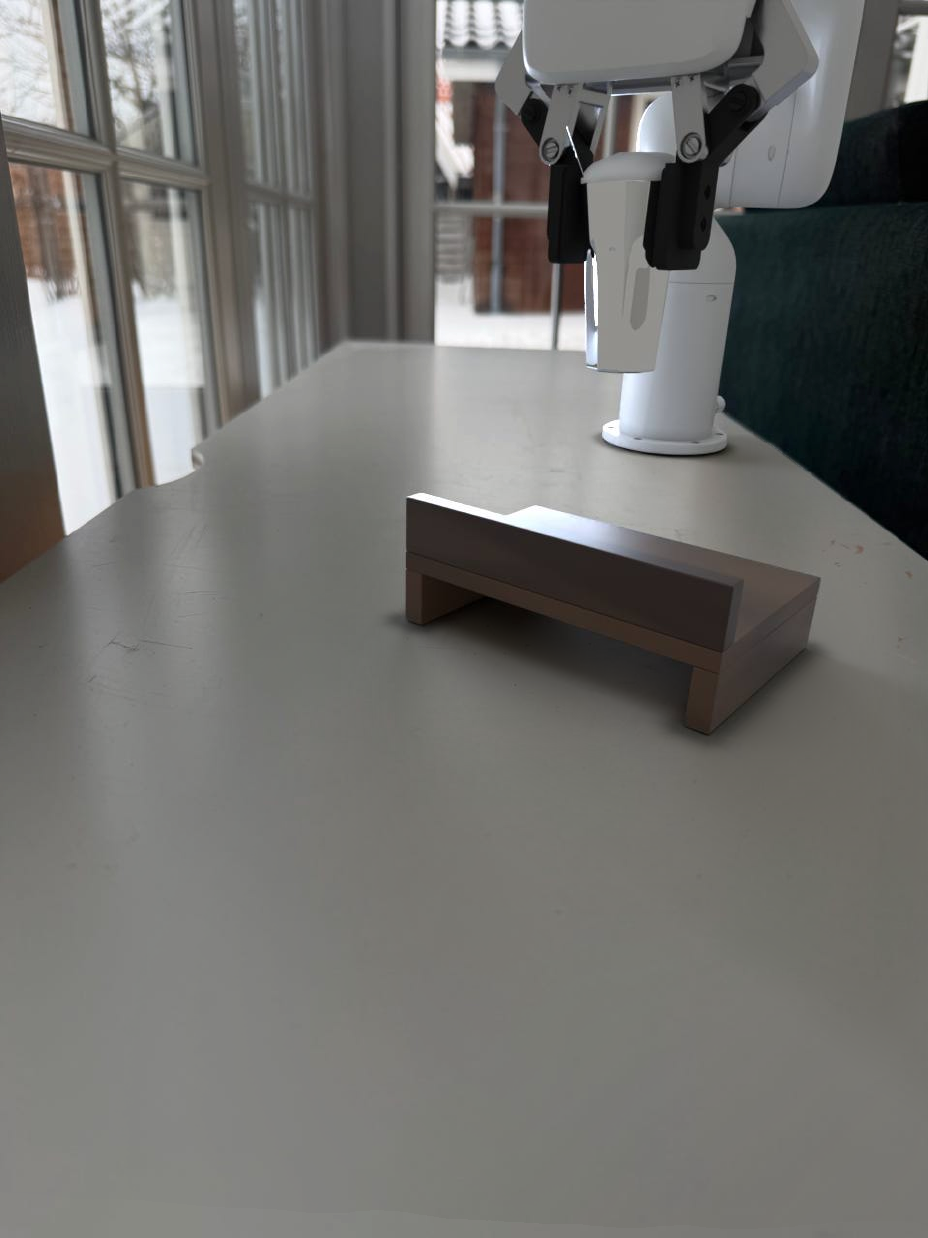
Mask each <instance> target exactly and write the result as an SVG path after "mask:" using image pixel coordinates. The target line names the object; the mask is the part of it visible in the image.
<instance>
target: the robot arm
mask: <svg viewBox="0 0 928 1238" xmlns="http://www.w3.org/2000/svg"><path fill="white" fill-rule="evenodd" d="M865 2H866V0H523V6H522V7H523V8H522V28H521V30H520V32H519V34H518V36H517V37H516V40H515V41H514V44H513V45H512V47H511V49H510V51H509V53H508V55H507V57H506V59H505V61H504V62H503V64H502V66H501V68H500V70H499V72H498V73H497V75H496V78H495V81H494V91H495V93H496V95H497V97H499V99H501V100H502V102H503V103H504V104H505V105H506V106H507V107H508V108H509V109H510V111H512V112H513V113H514V114H515V115H516V117H519V118H520V120H521V123H522V126H523V127H524V128H525V130H526V131H527V133H528V134H529V135H530V137H531V138H532V140H533V142H534V143H535V144H536V145H537V148H539V149H538V156H539V158H540V161H541V162H542V164H544V165H546V166H550V169H549V170H550V172H549V174H550V175H549V187H548V203H547V220H546V237H547V240H548V244H547V245H548V246H547V259H548V262H549V263H550V264H552V265H553V264H555V265H581V264H582V265H585V264H584V242H583V221H582V198H581V175H580V172H579V169H578V166H577V163H576V160H575V157H574V154H573V151H572V148H571V145H570V142H569V139H568V136H567V133H566V130H565V127H566V126H568V129H569V132H570V135H571V138H572V141H573V144H574V147H575V150H576V153H577V156H578V159H579V162H580V165H581V168H582V171H583V173H584V172H585V170H586V169H587V168H588V167H589V166H590V165H591V164H592V163H594V159H595V156H596V152H597V149H598V145H599V141H600V137H601V135H602V130H603V127H604V123H605V120H606V115H607V112H608V108H609V105H610V102H611V97H612V96H628V95H629V96H630V95H644V94H645V95H647V94H661V93H662V95H660V96H659V97H657V98H655V99H654V100H653V101H652V102H651V103H650V104H649V105H648V106H647V108H646V109H645V110H644V112H643V114H642V116H641V119H640V122H639V126H638V131H637V139H636V152H662V153H670V154H672V155H674V156H675V157H676V159H675V163H666V164H665V168H664V169H663V170H662V174H661V183H660V192H659V201H658V211H657V220H656V229H655V239H654V248H653V257H652V264H653V266H655V267H656V269H657V270H667V271H670V274H669V280H668V286H667V293H666V300H665V306H664V313H663V319H662V326H661V333H660V339H659V346H658V353H657V359H656V365H655V369H654V371H653V372H645V373H625V374H622V385H621V394H620V405H619V415H618V419H617V420H613V421H610V422H607V423H605V424H604V425H603V426H602V432H601V433H602V435H601V436H602V439H603V440H604V441H605V442H607V443H609V444H611V445H613V446H616V447H620V448H622V449H627V450H632V451H635V452H636V451H637V452H642V453H650V454H659V455H676V456H682V455H683V456H688V455H689V456H691V455H692V456H693V455H705V454H706V455H708V454H712V453H716V452H720V451H722V450H724V449H725V448H726V447H727V444H728V435H727V434H726V432H725V431H723V430H721V429H719V428H716V427H715V426H714V424H715V416H716V415H717V414H720V413H722V412H723V411H724V410H725V408H726V401H725V399H724V398H723V397H722V396H721V395H719V389H720V382H721V375H722V370H723V369H722V368H723V362H724V355H725V349H726V348H725V347H726V341H727V335H728V334H727V333H728V327H729V321H730V315H731V306H732V300H733V292H734V287H735V279H736V271H737V258H736V254H735V249H734V247H733V244H732V242H731V240H730V239H729V237H728V236H727V234H726V233H725V231H724V230H723V228H722V227H721V225H720V224H719V223H718V221H717V219H716V217H715V214H714V213H715V211H716V210H719V209H730V208H756V209H758V208H760V209H800V208H806V207H809V206H810V205H814V204H815V203H816V202H818V201H819V200H820V199H821V198H822V197H823V195H824V194H825V193H826V191H827V190H828V188H829V186H830V183H831V180H832V178H833V174H834V171H835V167H836V163H837V158H838V154H839V149H840V144H841V138H842V133H843V128H844V123H845V122H844V121H845V116H846V111H847V104H848V99H849V93H850V89H851V82H852V77H853V73H854V67H855V61H856V55H857V50H858V46H859V45H858V44H859V39H860V34H861V27H862V23H863V16H864V8H865ZM541 83H542V84H547V85H553V89H552V93H551V97H549V96H548V95H547V93H546V91H544V90H543V88H542V86H541Z"/></svg>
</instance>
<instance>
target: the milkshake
mask: <svg viewBox="0 0 928 1238" xmlns="http://www.w3.org/2000/svg"><path fill="white" fill-rule="evenodd" d="M565 130H566V133H567V136H568V139H569V142H570V145H571V148H572V151H573V154H574V157H575V160H576V163H577V166H578V169H579V172H580V175H581V198H582V221H583V242H584V264H583V265H584V303H585V304H584V309H585V310H584V312H585V313H584V316H585V319H584V320H585V321H584V323H585V326H584V327H585V369H586V370H588V371H593V372H596V373H606V374H616V375H617V374H619V375H621V374H622V375H623V374H625V373H645V372H653V371H654V369H655V365H656V359H657V353H658V346H659V339H660V333H661V326H662V319H663V313H664V306H665V300H666V293H667V286H668V280H669V274H670V271H667V270H657V269H656V267H655V266H653V264H652V257H653V248H654V239H655V229H656V220H657V211H658V201H659V192H660V183H661V174H662V170H663V169H664V168H665V164H666V163H675V159H676V157H675V156H674V155H672V154H670V153H662V152H637V151H621V152H620V151H619V152H616V153H614V154H611V155H610V156H607V157H604V158H601V159H599V160H597V161H595V162H594V161H593V163H592V164H591V165H590V166H589V167H588V168H587V169H586V170H585V172H584V173H583V171H582V168H581V165H580V162H579V159H578V156H577V153H576V150H575V147H574V144H573V141H572V138H571V135H570V132H569V129H568V126H566V127H565Z"/></svg>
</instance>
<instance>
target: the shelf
mask: <svg viewBox="0 0 928 1238" xmlns="http://www.w3.org/2000/svg"><path fill="white" fill-rule="evenodd" d="M405 550H406V551H405V609H404V611H405V612H404V613H405V615H404V616H405V617H404V618H405V620H406V621H409V622H411V623H414V624H417V625H419V626H422V625H425V624H427V623H430V622H431V621H433V620H436V619H438V618H440V617H443V616H445V615H447V614H449V613H451V612H454V611H455V610H458V609H460V608H462V607H466V606H467V605H470V604H472V603H474V602H476V601H477V600H481V599H483V598H485V597H489V598H493V599H495V600H498V601H501V602H504V603H507V604H511V605H513V606H516V607H518V608H522V609H525V610H528V611H530V612H533V613H537V614H540V615H542V616H545V617H549V618H551V619H554V620H557V621H561V622H563V623H565V624H570V625H573V626H575V627H578V628H580V629H584V630H587V631H589V632H593V633H595V634H598V635H602V636H605V637H608V638H610V639H613V640H617V641H619V642H623V643H625V644H628V645H632V646H635V647H637V648H640V649H643V650H646V651H649V652H653V653H655V654H658V655H661V656H664V657H667V658H670V659H673V660H676V661H679V662H681V663H684V664H688V665H690V666H693V667H692V673H691V679H690V685H689V692H688V699H687V705H686V710H685V711H686V712H685V717H684V726H685V727H686V728H689V729H692V730H695V731H697V732H699V733H702V734H705V735H710V734H711V733H713V732H714V731H715V730H716V729H717V728H718V727H719V726H720V725H721V724H722V723H723V722H724V721H725V720H726V719H728V718H729V717H730V716H732V714H734V713H735V712H736V711H737V710H738V709H739V708H740V707H742V705H744V703H746V702H747V701H748V700H749V699H750V698H751V697H752V696H754V695H755V693H757V692H758V691H759V690H761V688H762V687H764V686H765V684H767V683H768V682H769V681H770V680H771V679H773V677H775V675H777V674H778V673H779V672H780V671H781V670H783V669H784V668H785V667H786V666H787V665H788V664H789V663H790V662H791V661H792V660H793V659H795V658H796V657H797V656H798V655H799V654H800V653H801V652H802V651H804V650H805V648H807V646H808V642H809V638H810V632H811V628H812V623H813V618H814V614H815V608H816V604H817V599H818V595H819V590H820V586H821V585H820V584H821V582H822V581H821V580H822V577H820V576H816V575H812V574H809V573H805V572H802V571H797V570H794V569H789V568H785V567H781V566H778V565H773V564H769V563H766V562H761V561H757V560H753V559H750V558H747V557H746V558H745V557H742V556H737V555H733V554H731V553H726V552H722V551H718V550H714V549H710V548H706V547H702V546H699V545H695V544H689V543H687V542H684V541H683V542H682V541H678V540H674V539H671V538H667V537H664V536H659V535H655V534H651V533H647V532H644V531H640V530H636V529H631V528H627V527H624V526H619V525H616V524H611V523H608V522H604V521H600V520H596V519H592V518H588V517H584V516H580V515H575V514H572V513H568V512H564V511H561V510H556V509H552V508H549V507H545V506H540V505H537V504H534V505H532V506H529V507H526V508H522V509H520V510H518V511H515V512H512V513H509V514H507V515H505V514H502V513H498V512H494V511H491V510H487V509H483V508H480V507H477V506H472V505H468V504H464V503H460V502H457V501H453V500H450V499H446V498H442V497H439V496H434V495H431V494H427V493H423V492H418V493H415V494H412V495H409V496H406V497H405Z"/></svg>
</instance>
